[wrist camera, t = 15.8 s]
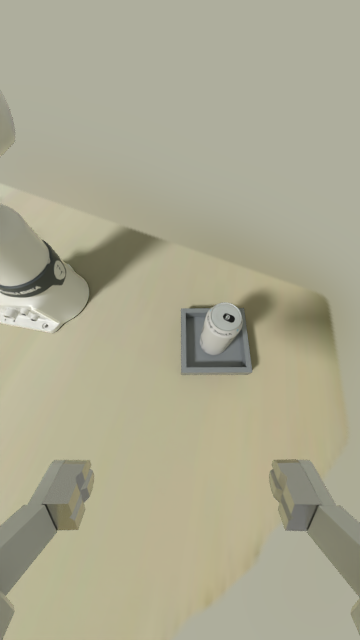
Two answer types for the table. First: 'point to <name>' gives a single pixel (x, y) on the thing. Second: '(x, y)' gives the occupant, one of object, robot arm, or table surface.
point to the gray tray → (202, 363)
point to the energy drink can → (220, 328)
